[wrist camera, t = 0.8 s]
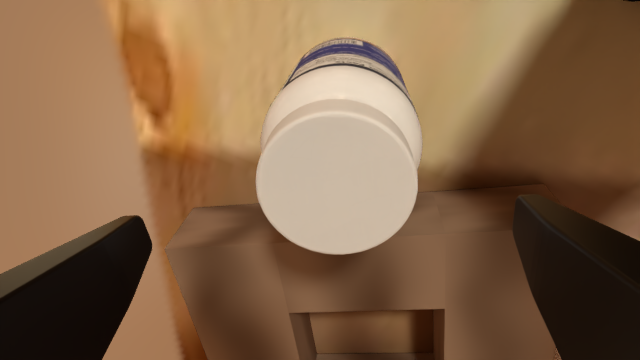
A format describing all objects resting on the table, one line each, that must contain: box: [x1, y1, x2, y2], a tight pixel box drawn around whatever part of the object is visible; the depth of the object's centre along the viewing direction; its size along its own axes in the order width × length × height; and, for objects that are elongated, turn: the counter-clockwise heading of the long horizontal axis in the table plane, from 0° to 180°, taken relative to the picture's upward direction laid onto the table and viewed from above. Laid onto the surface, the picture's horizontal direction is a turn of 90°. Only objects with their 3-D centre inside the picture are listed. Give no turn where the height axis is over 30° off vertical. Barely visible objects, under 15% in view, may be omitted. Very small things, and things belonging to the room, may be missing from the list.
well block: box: [165, 184, 561, 360], centre depth 25 cm, size 20×18×4 cm
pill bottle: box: [256, 37, 422, 255], centre depth 16 cm, size 6×6×10 cm
